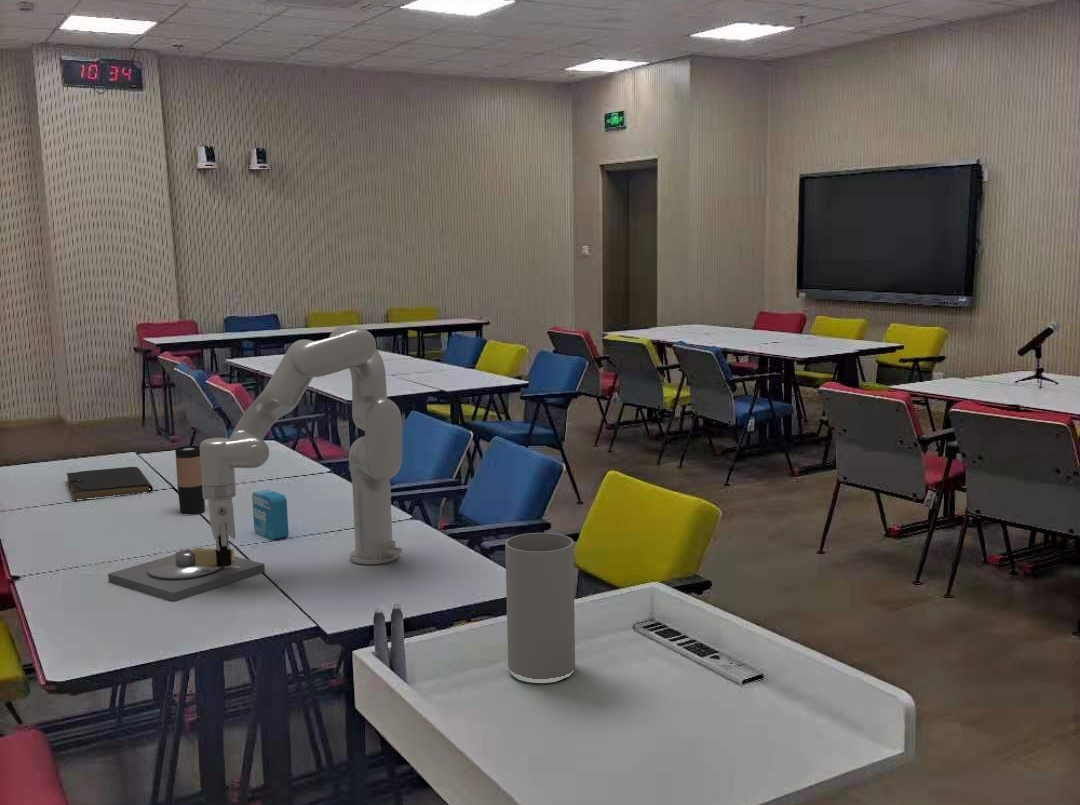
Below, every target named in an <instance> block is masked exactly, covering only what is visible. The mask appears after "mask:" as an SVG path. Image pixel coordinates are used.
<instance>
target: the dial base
mask: <svg viewBox="0 0 1080 805" xmlns="http://www.w3.org/2000/svg"><path fill="white" fill-rule="evenodd" d="M195 549H204V548H203V547H197V548H195ZM171 556H175V554H172V555H169V556H165V557H161V558H158V559H155V560H151V561H148V562H143V563H141V564H137V565H134V566H131V567H126V568H123V569H120V570H116V571H113V572H109V573H107V576H108V578H107V579H108V583H112V584H115V585H119V586H122V587H125V588H129V589H132V590H134V591H139V592H142V593H145V594H149V595H151V596H155V597H158V598H161V597H162V599H165V600H169V601H171V600H172V602H176V601H179V600H182V599H185V598H188V597H192V596H195V595H197V594H201V593H203V592H206V591H209V590H213V589H217V588H219V587H222V586H225V585H228V584H231V583H234V582H237V581H241V580H243V579H247V578H249V577H252V576H255V575H258V574H262V573H265V572H266V571H265V570H266V569H265V568H266V566H265V563H263V562H259V561H255V560H250V559H247V558H243V557H238V556H237V555H234V561H235V562H234V563H233V564H231V565H230V566H225V567H224V568H222V569H221V570H219V571H217V572H215V573H212V574H209V575H205V576H201V577H196V578H189V579H175V580H169V579H159V578H154V577H152V576H150V575H149V574H148V566H149V565H150V564H151V563H153V562H155V561H157V560H160V559H163V558H167V557H171Z"/></svg>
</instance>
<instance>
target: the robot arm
mask: <svg viewBox="0 0 1080 805" xmlns="http://www.w3.org/2000/svg"><path fill="white" fill-rule="evenodd" d="M376 342H377V341H376V338H375V336H374V335H373V334H372V333H371V332H369V331H368V330H366V329H365V328H360V327H356V326H350V325H341V326H338V327H336V328H335V329H333V330H332V332H331V333H330V334H329V337H328V338H323V339H319V340H311V339H299V340H297V341H294V342H293V343H292V344H291V345H290V346H289V348H287V351H286V352H285V354H284V356H283V357H282V358H281V361H280V363H279V364H278V366H277V368H276V369H275V371H274V372H273V374H272V376H271V378H270V379H269V380H268V382H267V384H266V386H265V387H264V389H263V391H261V392H260V394H259V395H258V396H257V397H256V398H255V399H254V401H253V402H252V403H251V404H250V405H249V406H248V408H247V409H246V410H245V411H244V412H243V415H242V416H241V417H240V418H239V421H238V422H237V424H236V426H235V428H234V429H233V431H232V433H231V435H230V436H229V438H228V437H227V438H226V437H213V438H206V439H204V440H202V441H201V442H200V444H199V447H200V461H201V476H202V491H203V499H205V501H208V511H209V512H208V513H209V514H208V515H209V523H210V529H211V533H212V536H213V539H214V541H215V546H216V548H215V549H216V562H217V567H225V566H230V565H231V553H230V549H231V548H230V539H233V540H235V539H236V536H237V535H236V526H235V512H234V504H233V498H235V497H236V496H237V491H236V490H237V489H236V487H237V486H236V472H235V469H256V468H259V467H261V466H263V465H264V464H265V463H266V462H267V461H268V459H269V457H270V449H269V446H268V444H267V443H266V442H265V440H264V438H265V437H266V435H267V433H268V432H269V430H270V429H271V428H272V426H273V425H274V424H275V423H276V422H277V421H279V419H280V418H282V417H284V416H286V415H288V414H289V413H290V412H292V411H293V410H294V409H295V408H296V407H297V406H298V404H299V402H300V400H301V399H302V397H303V395H304V393H305V392H306V390H307V388H308V387H309V386H310V384H311V382H312V380H313V379H314V378H320V377H321V378H322V377H324V376H329V375H331V374H335V373H339V372H341V371H344V370H348V369H349V372H350V376H351V377H350V378H351V391H352V392H351V398H352V401H351V402H352V403H351V408H352V409H351V414H352V415H351V416H352V421H353V423H354V425H355V426H356V427H357V428H358V429H360V430H362V431H364V436H360V437H358V438H357V439H356V440H355V441H353V442H352V444H351V446H350V447H349V451H348V464H349V472H350V478H351V486H352V503H353V523H354V524H353V525H354V526H353V527H354V529H353V530H354V546H355V549H354V551H351V552H350V553H349V560H350V561H351V562H352V563H354V564H359V565H381V564H388V563H390V562H393V561H396V560H397V559H398V558H399V557H400V554H402V553H403V549H402V548H401V547H397V546H396V540H393V522H392V520H393V519H392V517H393V516H392V499H391V498H392V491H391V481H390V479H392V478H394V477H395V476H396V475H398V472H399V471H400V469H401V466H402V464H403V463H402V462H403V418H402V414H401V411H400V408H399V407H398V405H397V404H396V403H395V402H394V401H393V400H391V399H389V398H388V392H387V378H386V377H387V376H386V375H387V374H386V368H385V367H386V366H385V363H384V360H383V357H382V356H381V353H380V352H379V351H378V349H377V343H376Z"/></svg>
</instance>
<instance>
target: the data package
mask: <svg viewBox="0 0 1080 805" xmlns="http://www.w3.org/2000/svg"><path fill="white" fill-rule="evenodd" d="M251 498H252V515H253V516H252V517H253V529H254V533H255V534H257V535H260V536H261V537H265V538H267V539H268V540H272V541H274V540H279V539H283V538H287V537H288V536H289V534H290V533H289V518H288V500H287V496H285V494H282V493H279V492H276V491H274V490H270V489H264V490H263V489H262V490H259V491H257V490H256V491H254V492H252V494H251Z"/></svg>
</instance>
